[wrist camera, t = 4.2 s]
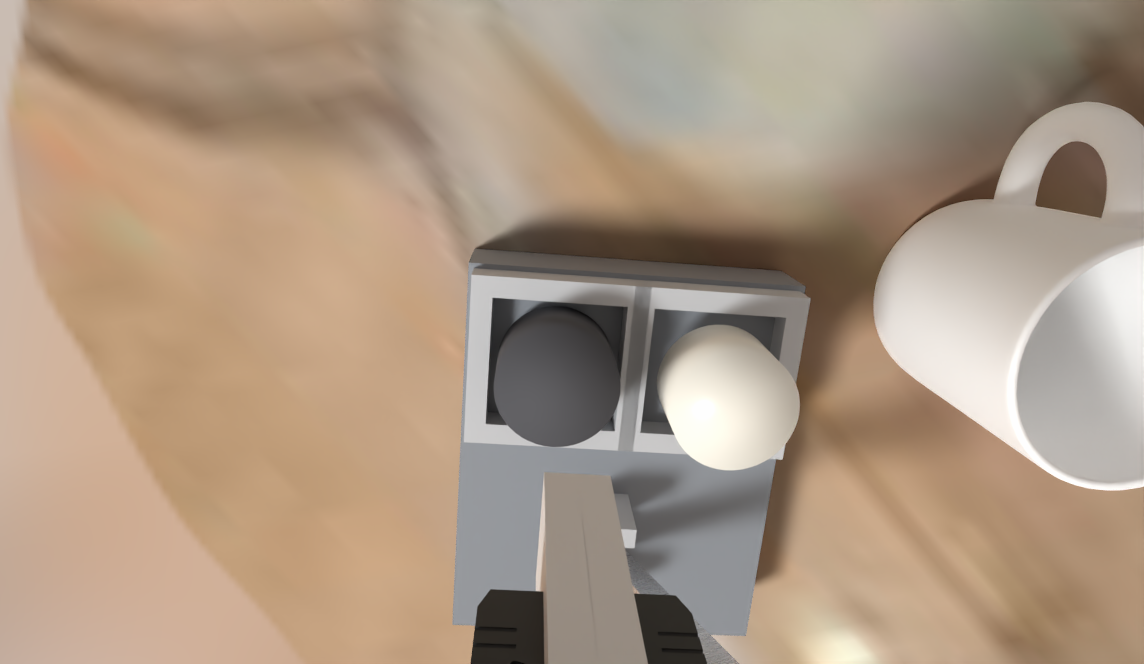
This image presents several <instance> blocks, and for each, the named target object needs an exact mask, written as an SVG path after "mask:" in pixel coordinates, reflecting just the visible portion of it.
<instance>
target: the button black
mask: <svg viewBox="0 0 1144 664" xmlns="http://www.w3.org/2000/svg"><path fill="white" fill-rule="evenodd" d="M620 388H621V384H620V376H619V372H618V368H617V365H616V362H615V359H614V356H613V353H612V350H611V347H610V344H609V341H608V339H607V336H606V335H605V333H604V331H603V330H602V329H601V327H600V326H599V325H598V324H597V323H596V322H595V321H594V320H593V319H592V318H590V317H589V316H588V315H586V314H584V313H583V312H581V311H578V310H576V309H573V308H569V307H563V306H548V307H542V308H538V309H535V310H533V311H530V312H528V313H526V314H525V315H523V316H522V317H520V318H519V319H517V320H516V321H515V322H514V323H513V324H512V325H511V326H510V328H509V329H508V330H507V332H506V333H505V335H504V337H503V339H502V341H501V344H500V347H499V351H498V358H497V365H496V372H495V379H494V397H495V402H496V406H497V409H498V411H499V413H500V415H501V417H502V418H503V420H504V421H505V423H506V424H507V425H508V426H509V427H510V428H511V429H512V430H513V431H514V432H515V433H516V434H518V435H519V436H520V437H522V438H524V439H526V440H527V441H529V442H532V443H535V444H538V445H542V446H548V447H565V446H571V445H575V444H578V443H581V442H583V441H585V440H587V439H589V438H591V437H593V436H594V435H595V434H597V433H598V432H599V431H600V430H601V429H603V428H604V427H605V425H606V424H607V423H608V422H609V421H610V419H611V417H612V416H613V414H614V412H615V410H616V408H617V405H618V402H619V397H620Z"/></svg>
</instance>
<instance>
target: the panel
mask: <svg viewBox="0 0 1144 664" xmlns="http://www.w3.org/2000/svg"><path fill="white" fill-rule="evenodd" d="M805 288H806V286H804V285H803V284H801V283H800V282H798V281H796V280H795V279H793V278H792V277H790V276H789V275H787V274H786V273H784V272H782V271H777V270H763V269H749V268H735V267H722V266H708V265H694V264H680V263H667V262H653V261H639V260H625V259H612V258H598V257H584V256H570V255H557V254H543V253H529V252H515V251H502V250H488V249H474V252H473V254H472V256H471V259H470V261H469V271H468V293H467V315H466V337H465V359H464V381H463V403H462V426H461V448H460V470H459V492H458V514H457V536H456V558H455V580H454V603H453V625H473V626H475V623H476V614H477V606H478V605H479V604H480V602H481V601H482V600H483V598H484V597H485V596H486V595H487V593H488V592H489V591H490V589H497V590H520V591H536V569H537V556H538V543H539V531H540V518H541V506H542V493H543V481H544V472H550V473H569V474H588V475H606V476H611V481H612V486H613V491H614V496H615V501H616V506H617V511H618V516H619V521H620V526H621V531H622V536H623V541H624V546H625V550H626V551H627V552H628V553H629V554H630V555H631V556H632V557H633V558H634V559H635V560H636V561H637V562H638V563H639V564H640V565H641V566H642V567H643V568H644V569H645V570H646V571H647V572H648V573H649V574H650V575H651V576H652V577H653V578H654V579H655V580H656V581H657V582H658V583H659V584H660V585H661V586H662V587H663V588H664V589H665V590H666V591H667V592H668V593H669V594H670V595H676V596H677V597H678V598H679V599H680V601H681V602H682V603H683V604H684V605H685V606H686V607H687V608H688V610H689V611H690V612H691V613H692V615H693V618H694V619H695V620H696V621H697V622H698V623H699V624H700V625H701V626H702V627H703V628H704V629H705V630H706V631H707V632H708V633H709V634H710V635H734V636H746V632H747V626H748V620H749V614H750V608H751V603H752V597H753V591H754V585H755V579H756V573H757V568H758V562H759V556H760V550H761V544H762V538H763V533H764V527H765V521H766V515H767V509H768V504H769V498H770V492H771V486H772V480H773V474H774V469H775V463H776V459H779V460H783V455H784V449H785V445H784V446H783V447H782V448H781V450H780V451H778V452H777V453H776V454H775V455H774V456H772V457H771V458H769V459H768V460H766V461H764V462H762V463H760V464H758V465H756V466H753V467H750V468H746V469H741V470H719V469H715V468H711V467H708V466H705V465H703V464H701V463H699V462H697V461H696V460H694V459H693V458H692V457H690V456H689V455H688V454H687V453H686V452H685V451H684V450H683V448H682V447H681V446H680V444H679V443H678V441H677V439H676V437H675V435H674V432H673V430H672V428H671V425H670V423H669V421H668V419H667V416H666V414H665V412H664V409H663V407H662V405H661V402H660V400H659V396H658V392H657V376H658V371H659V367H660V364H661V362H662V360H663V358H664V356H665V354H666V353H667V351H668V350H669V349H670V347H671V346H672V345H673V344H674V343H675V342H676V341H677V340H678V339H679V338H681V337H682V336H684V335H685V334H687V333H689V332H691V331H692V330H695V329H697V328H700V327H704V326H708V325H730V326H734V327H738V328H740V329H743V330H745V331H747V332H748V333H750V334H752V335H753V336H754V337H755V338H757V339H758V340H759V341H760V342H761V343H762V344H763V346H764V347H765V348H766V349H767V350H768V351H769V352H770V353H771V354H772V355H773V356H774V357H775V358H776V359H777V360H778V361H779V362H780V363H781V364H782V365H783V366H784V367H785V368H786V369H787V370H788V372H789V373H790V374H791V376H792V377H793V379H794V381H795V383H796V380H797V375H798V369H799V363H800V357H801V352H802V346H803V340H804V334H805V329H806V323H807V317H808V312H809V306H810V300H811V298H809V297H808V296H806V295H805ZM548 306H563V307H569V308H573V309H576V310H578V311H581V312H583V313H584V314H586V315H588V316H589V317H590V318H592V319H593V320H594V321H595V322H596V323H597V324H598V325H599V326H600V327H601V329H602V330H603V331H604V333H605V335H606V336H607V339H608V341H609V344H610V347H611V350H612V353H613V356H614V359H615V362H616V365H617V368H618V372H619V376H620V384H621V388H620V397H619V402H618V405H617V408H616V410H615V412H614V414H613V416H612V417H611V419H610V421H609V422H608V423H607V424H606V425H605V427H604V428H603V429H601V430H600V431H599V432H598V433H597V434H595V435H594V436H593V437H591V438H589V439H587V440H585V441H583V442H581V443H578V444H575V445H571V446H565V447H548V446H542V445H538V444H535V443H532V442H529V441H527V440H526V439H524V438H522V437H520V436H519V435H518V434H516V433H515V432H514V431H513V430H512V429H511V428H510V427H509V426H508V425H507V424H506V423H505V421H504V420H503V418H502V417H501V415H500V413H499V411H498V409H497V406H496V402H495V397H494V379H495V372H496V365H497V358H498V351H499V347H500V344H501V341H502V339H503V337H504V335H505V333H506V332H507V330H508V329H509V328H510V326H511V325H512V324H513V323H514V322H515V321H516V320H517V319H519V318H520V317H522V316H523V315H525V314H526V313H528V312H530V311H533V310H535V309H538V308H542V307H548Z"/></svg>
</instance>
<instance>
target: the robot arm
mask: <svg viewBox="0 0 1144 664" xmlns="http://www.w3.org/2000/svg"><path fill="white" fill-rule="evenodd" d="M471 664H707V661H706V658H705V655H704V654H703V648H702V645H701V641H700V638H699V637H698V632H697V628H696V625H695V622H694V619H693V615H692V613H691V612H690V611H689V610H688V608H687V607H686V606H685V605H684V604H683V603H682V602H681V601H680V599H679V598H678V597H677V596H676V595H656V594H634V592H633V587H632V582H631V577H630V572H629V567H628V561H627V556H626V551H625V546H624V541H623V536H622V531H621V526H620V521H619V516H618V511H617V506H616V501H615V496H614V491H613V486H612V481H611V476H606V475H588V474H569V473H550V472H544V481H543V493H542V506H541V518H540V531H539V543H538V556H537V569H536V591H520V590H497V589H490V591H489V592H488V593H487V595H486V596H485V597H484V598H483V600H482V601H481V602H480V604H479V605H478V606H477V614H476V623H475V631H474V640H473V648H472V657H471Z"/></svg>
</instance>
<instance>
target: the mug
mask: <svg viewBox="0 0 1144 664" xmlns="http://www.w3.org/2000/svg"><path fill="white" fill-rule="evenodd" d="M1073 141H1080V142H1084V143H1087V144H1089V145H1090V146H1092V147H1093V148H1094V149H1095V150H1096V151H1097V152H1098V154H1099V155H1100V157H1101V159H1102V161H1103V164H1104V167H1105V171H1106V177H1107V193H1106V201H1105V206H1104V210H1103V214H1102V217H1101V218H1098V217H1093V216H1088V215H1082V214H1077V213H1072V212H1066V211H1061V210H1056V209H1050V208H1044V207H1037V206H1036V204H1035V203H1036V197H1037V192H1038V188H1039V184H1040V181H1041V177H1042V175H1043V172H1044V169H1045V167H1046V165H1047V163H1048V162H1049V160H1050V159H1051V157H1052V156H1053V154H1054V153H1055V152H1056V151H1057V150H1058V149H1059V148H1060V147H1062V146H1063V145H1065V144H1067V143H1069V142H1073ZM873 305H874V319H875V325H876V328H877V332H878V335H879V337H880V339H881V342H882V344H883V346H884V347H885V349H886V350H887V352H888V353H889V355H890V356H891V357H892V358H893V360H894V361H895V362H896V363H897V364H898V365H899V366H900V367H901V368H902V369H903V370H904V371H906V372H907V373H908V374H909V375H911V376H912V377H913V378H914V379H916V380H917V381H918V382H920V383H921V384H923V385H924V386H926V387H927V388H928V389H930V390H931V391H933V392H934V393H935V394H937V395H938V396H940V397H941V398H943V399H944V400H945V401H947V402H948V403H950V404H951V405H953V406H954V407H955V408H957V409H958V410H960V411H961V412H963V413H964V414H965V415H967V416H968V417H970V418H971V419H973V420H974V421H975V422H977V423H978V424H980V425H981V426H983V427H984V428H985V429H987V430H988V431H990V432H991V433H992V434H994V435H995V436H997V437H998V438H1000V439H1001V440H1002V441H1004V442H1005V443H1007V444H1008V445H1010V446H1011V447H1012V448H1014V449H1015V450H1017V451H1018V452H1020V453H1021V454H1022V455H1024V456H1025V457H1027V458H1028V459H1030V460H1031V461H1032V462H1034V463H1035V464H1037V465H1038V466H1040V467H1041V468H1042V469H1044V470H1045V471H1047V472H1048V473H1050V474H1052V475H1053V476H1055V477H1057V478H1059V479H1061V480H1063V481H1066V482H1068V483H1071V484H1073V485H1077V486H1081V487H1085V488H1090V489H1099V490H1127V489H1134V488H1140V487H1144V127H1143V125H1142V124H1140V123H1139V122H1138V121H1137V120H1136V119H1135V118H1134V117H1133V116H1132V115H1130V114H1129V113H1127V112H1125V111H1123V110H1122V109H1120V108H1117V107H1114V106H1110V105H1107V104H1103V103H1099V102H1081V103H1074V104H1069V105H1065V106H1062V107H1059V108H1056V109H1054V110H1052V111H1050V112H1049V113H1047V114H1045V115H1044V116H1042V117H1040V118H1039V119H1038V120H1036V121H1035V122H1034V123H1033V124H1032V125H1030V126H1029V127H1028V128H1027V129H1026V130H1025V132H1024V133H1023V134H1022V135H1021V136H1020V137H1019V139H1018V140H1017V142H1016V143H1015V145H1014V146H1013V148H1012V150H1011V152H1010V154H1009V155H1008V157H1007V159H1006V162H1005V164H1004V167H1003V169H1002V172H1001V175H1000V178H999V181H998V185H997V188H996V192H995V196H994V199H978V200H970V201H963V202H959V203H955V204H951V205H948V206H946V207H943V208H941V209H938V210H936V211H934V212H932V213H931V214H929V215H927V216H925V217H924V218H922V219H921V220H920V221H918V222H917V223H916V224H914V225H913V226H912V227H911V228H910V229H909V230H908V231H907V232H905V233H904V234H903V235H902V237H901V238H900V239H899V240H898V241H897V242H896V243H895V245H894V246H893V248H892V249H891V251H890V252H889V254H888V255H887V257H886V259H885V261H884V263H883V265H882V267H881V270H880V272H879V275H878V278H877V282H876V286H875V292H874V301H873Z"/></svg>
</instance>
